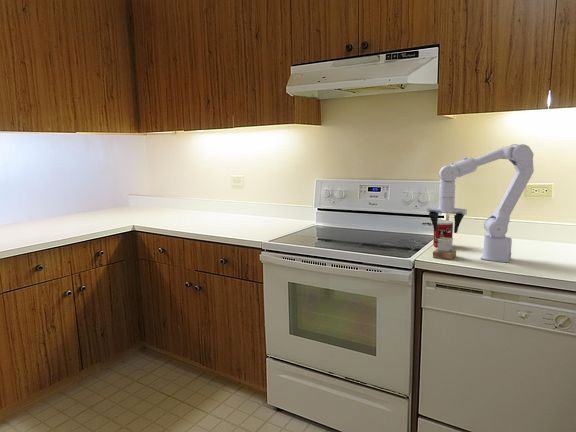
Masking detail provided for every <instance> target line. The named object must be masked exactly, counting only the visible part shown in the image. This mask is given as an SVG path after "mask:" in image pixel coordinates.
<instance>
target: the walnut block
mask: <svg viewBox="0 0 576 432" xmlns="http://www.w3.org/2000/svg"><path fill="white" fill-rule="evenodd" d="M456 256H457V249H452V251H450V252H441V251H438V248H437V247H436V249H434V250H433V252H432V258H433V259H439V260H446V261H447V260H448V261H452V260H453V259H454V258H455V257H456Z"/></svg>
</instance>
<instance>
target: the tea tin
mask: <svg viewBox="0 0 576 432" xmlns="http://www.w3.org/2000/svg"><path fill="white" fill-rule="evenodd" d="M453 241H454V238H453V237H452V238H446V237H440V238H439V239H438V251H441V252H450V251H452V250H453Z"/></svg>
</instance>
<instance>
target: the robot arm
mask: <svg viewBox="0 0 576 432" xmlns="http://www.w3.org/2000/svg"><path fill="white" fill-rule="evenodd" d="M534 156H535V154H534V152H533V151H532V149H531V147H530V146H529V145H527V144H523V143H522V144H521V143H520V144H518V143H513V144H510V145H507V146H503V147H500V148H497V149H495V150H492V151H489V152H487V153H485V154H483V155H480V156H478V157H475V158H473V157H470V156H469V157H467V156H465V157H462V159H461V160H458V161H456V162H449V165H444V166H442V167H441V168H440V170H438V171H439V172H438V177H439V178H440V179H439V186H438V187H439V189H438V191H439V192H438V206H427V207H426V213H428V216H429V218H430V220H431V223H432V226H433V232H434V231H437V228H438V225H437V221H438V220H439V213H440V214H449V215H450V214H451V215H453V216H454V217H453V218H454V226H453V233H454V234H457V233H458V230H459V226H460V224H461V223H462V220H463V218H464V216H466V215H467V213H468V210H467V209H466V208H459V207H455V204H456V202H455V199H456V180H457V179H458V178H460V177H463V176H466V175H469V174H472V173H474V172H476V171H477V169H478V167H480V166H483V165H486V164H489V163H492V162H495V161H498V160H508V161H509V162H510V163H511V164H512V165H513V167H514V169H515V174H514V175H513V178H512V179H511V181H510V183H509V185H508V187H507V189H506V191H505V192H504V194H503V196H502V198H501V200H500V202H499V204H498V205H497V207H496V209H495V210H494V211H493V212H492V213H491V215H490V216H488V217H487V218H486V219H485V221H484V223H483V228H484V230H485V231H486V232H485V233H484V237H483V253H482V254H483V255H482V256H481V257H480V260H484V261H492V262H500V263H509V261H510V260H511V258H512V243H513V242H512V237H508V236H506V235H507V232H508V230H509V229H508V226H509V223H510V220H511V217H510V216H511V214H512V212H513V210H514V209H515V207H516V204H517V203H518V202H519V199H520V198H521V196H522V194H523V193H524V190H525V189H526V187H527V185H528V183H529V181H530V179H531V178H532V175H533V173H534Z"/></svg>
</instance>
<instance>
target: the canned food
mask: <svg viewBox="0 0 576 432" xmlns="http://www.w3.org/2000/svg"><path fill="white" fill-rule="evenodd" d="M437 225H438V228H437V231H434V230H433V242H432V243H433V247H435V248H436V249H437V248H438V239H439V238H440V237H446V238H453V233H454V222H453V221H452V220H447V219H438V221H437Z"/></svg>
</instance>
